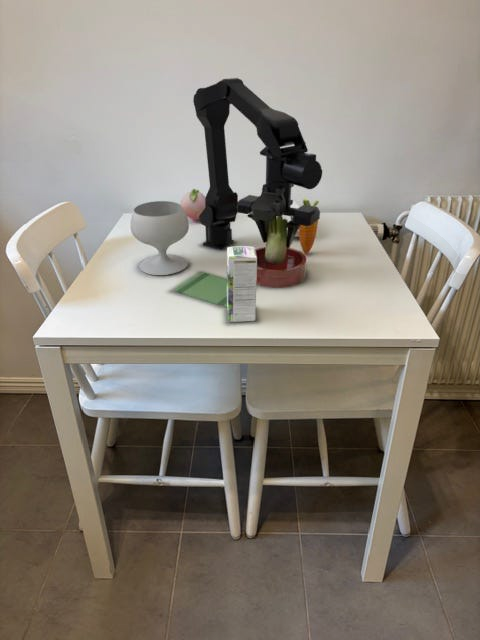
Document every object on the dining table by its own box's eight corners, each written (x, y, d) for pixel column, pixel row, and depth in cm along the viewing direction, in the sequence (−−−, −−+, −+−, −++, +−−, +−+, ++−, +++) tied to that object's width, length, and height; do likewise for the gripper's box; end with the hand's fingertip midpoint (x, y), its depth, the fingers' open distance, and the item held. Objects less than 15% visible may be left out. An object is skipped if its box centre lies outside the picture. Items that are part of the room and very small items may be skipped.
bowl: (234, 278, 116) (233, 262, 114) (263, 256, 127) (264, 241, 125) (288, 293, 110) (289, 276, 107) (314, 269, 120) (316, 253, 118)
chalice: (151, 252, 130) (145, 197, 122) (199, 258, 126) (196, 202, 119) (125, 274, 119) (117, 215, 111) (177, 281, 115) (172, 221, 107)
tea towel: (173, 290, 111) (173, 289, 111) (200, 272, 119) (200, 271, 119) (227, 307, 104) (227, 306, 104) (253, 287, 112) (253, 286, 112)
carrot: (317, 251, 129) (321, 196, 122) (313, 259, 125) (317, 202, 118) (298, 249, 131) (302, 195, 123) (294, 256, 127) (297, 200, 119)
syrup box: (226, 308, 104) (225, 246, 96) (253, 307, 104) (254, 245, 97) (228, 322, 99) (226, 257, 91) (256, 321, 99) (257, 256, 92)
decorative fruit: (181, 216, 155) (179, 185, 149) (207, 214, 155) (205, 183, 150) (181, 226, 147) (179, 193, 141) (208, 225, 147) (207, 192, 142)
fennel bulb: (288, 266, 115) (290, 218, 109) (269, 269, 114) (270, 220, 108) (280, 256, 120) (282, 210, 114) (261, 259, 119) (262, 212, 113)
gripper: (223, 181, 104) (224, 248, 113) (301, 194, 96) (297, 266, 104) (249, 170, 113) (249, 233, 121) (323, 181, 104) (317, 248, 112)
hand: (276, 244), depth 114 cm, fingers closed on fennel bulb, 6 cm apart
